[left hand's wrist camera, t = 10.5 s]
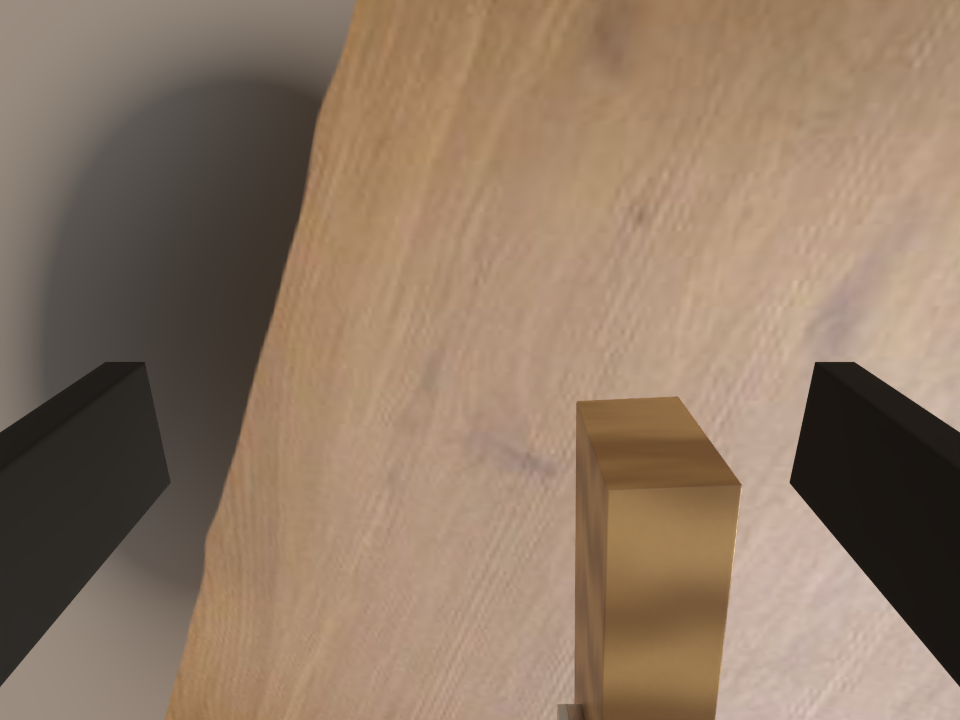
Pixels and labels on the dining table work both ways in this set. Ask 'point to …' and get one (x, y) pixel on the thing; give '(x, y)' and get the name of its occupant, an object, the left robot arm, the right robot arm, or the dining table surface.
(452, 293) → the dining table surface
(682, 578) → the bar
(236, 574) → the dining table surface
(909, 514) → the left robot arm
